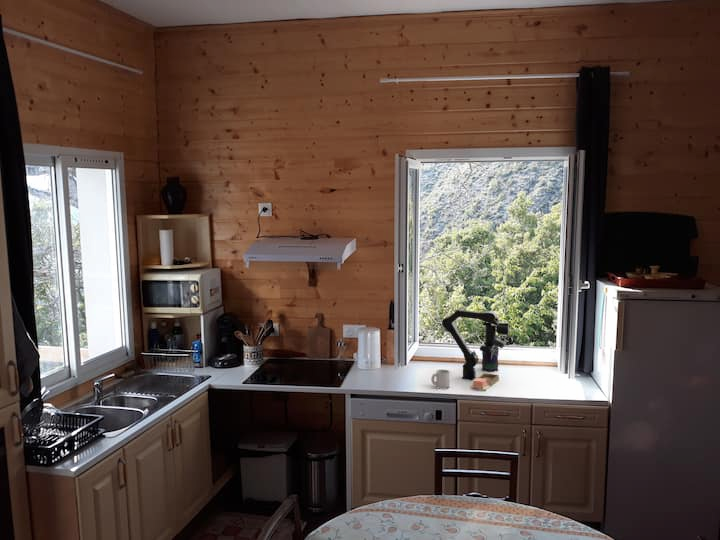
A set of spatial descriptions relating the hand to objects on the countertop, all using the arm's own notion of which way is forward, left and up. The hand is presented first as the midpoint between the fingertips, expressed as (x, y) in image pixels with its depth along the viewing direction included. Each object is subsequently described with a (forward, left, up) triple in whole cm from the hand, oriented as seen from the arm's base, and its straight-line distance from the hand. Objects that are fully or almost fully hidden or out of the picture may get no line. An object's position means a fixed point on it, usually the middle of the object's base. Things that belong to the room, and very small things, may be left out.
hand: (490, 360), depth 347 cm
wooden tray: (0, -9, -12) cm, 15 cm away
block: (0, -17, -11) cm, 20 cm away
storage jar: (-7, +21, -12) cm, 25 cm away
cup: (-20, -25, -12) cm, 34 cm away
